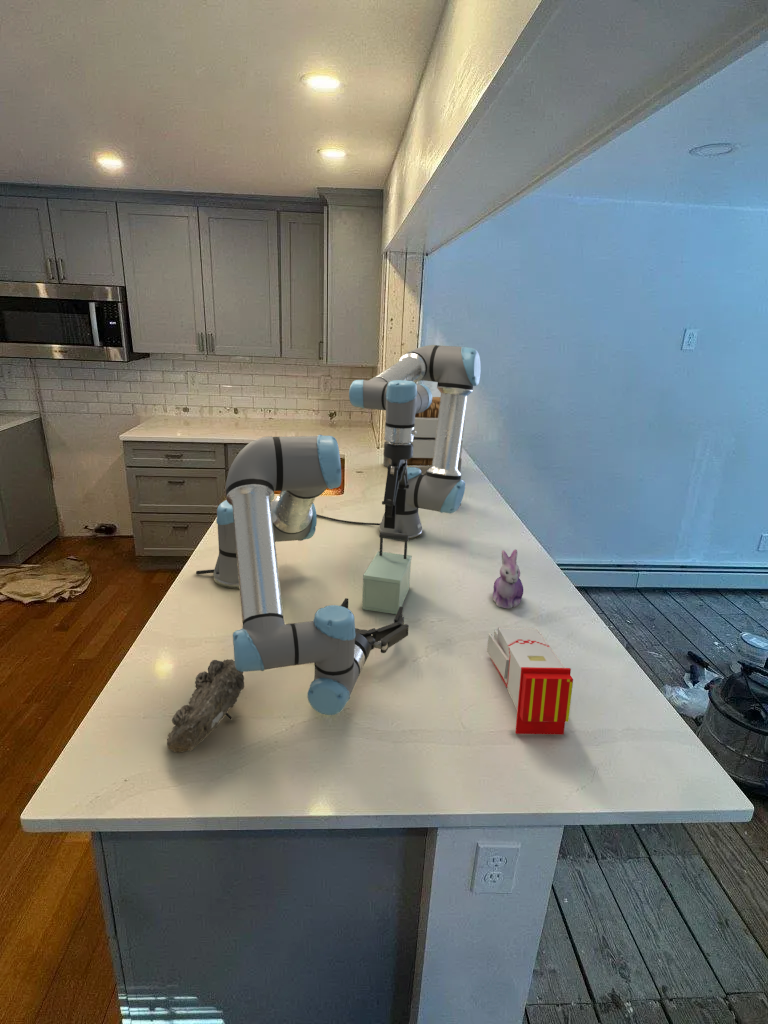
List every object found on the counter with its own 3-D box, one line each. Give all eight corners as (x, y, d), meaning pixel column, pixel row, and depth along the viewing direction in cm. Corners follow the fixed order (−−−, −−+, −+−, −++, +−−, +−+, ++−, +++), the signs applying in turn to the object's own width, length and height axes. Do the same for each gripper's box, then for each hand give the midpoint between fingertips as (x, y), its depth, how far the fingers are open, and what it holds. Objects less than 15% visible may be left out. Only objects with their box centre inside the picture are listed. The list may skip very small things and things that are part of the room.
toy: (534, 612, 132) (582, 675, 102) (529, 665, 135) (574, 741, 105) (482, 611, 131) (516, 674, 102) (478, 664, 134) (510, 740, 105)
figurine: (505, 613, 150) (512, 561, 145) (482, 596, 158) (488, 546, 153) (533, 606, 154) (540, 555, 149) (509, 589, 163) (515, 541, 158)
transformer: (382, 463, 289) (386, 382, 275) (445, 464, 293) (451, 384, 279) (390, 482, 257) (394, 392, 243) (460, 483, 261) (468, 394, 247)
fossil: (192, 660, 117) (244, 628, 112) (224, 691, 120) (276, 661, 115) (142, 746, 98) (202, 712, 93) (182, 779, 101) (242, 748, 96)
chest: (375, 583, 163) (377, 555, 160) (409, 588, 161) (410, 560, 158) (362, 609, 149) (363, 578, 146) (398, 614, 147) (400, 584, 144)
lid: (377, 554, 161) (378, 528, 158) (411, 559, 159) (413, 532, 156) (363, 578, 146) (364, 550, 143) (400, 584, 144) (401, 555, 141)
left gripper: (292, 660, 122) (324, 613, 141) (406, 681, 117) (423, 629, 136) (292, 630, 119) (324, 586, 139) (408, 650, 114) (425, 601, 134)
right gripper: (403, 454, 134) (399, 537, 141) (421, 434, 157) (416, 506, 164) (373, 451, 135) (370, 533, 143) (394, 431, 158) (391, 503, 166)
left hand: (373, 607), depth 138 cm, fingers open, 13 cm apart
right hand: (394, 519), depth 153 cm, fingers open, 13 cm apart
